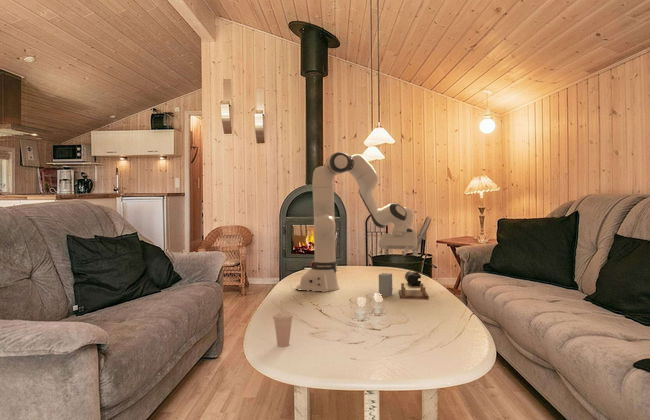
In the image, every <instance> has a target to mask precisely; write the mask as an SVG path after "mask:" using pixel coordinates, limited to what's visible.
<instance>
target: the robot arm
mask: <svg viewBox="0 0 650 420" xmlns="http://www.w3.org/2000/svg"><path fill="white" fill-rule="evenodd" d="M346 172H347V173H349V174H351V176H352V177H353V178H354V180H355V181H356V182H357V183H356V184H357V185H358V193H359V196H360V198H361V200H362V203H364V206H365V208H366V210H367V211H368V213H369V215H370V218H371V220H372V223H373V224H374V225H375V226H376V227H377V228H380V229H383V228H384V229H385V228H386V227H388V226H389V225H390V224H393V229H392V231H391V233H390V232H389V233H384V234H381V235H380V238H379V241H378V248H380V250H381V249H382V250H384V252H383V253H384V255H385V256H388V255H389V251H388V250H402V252H401V255H402V256H406V255H407V253H408V252H409V251H411V250H416V249H418V234H417V232H416V230H415V229H414V228H411V227H412V225H413V217H414V213H413V211H412V210H411V208H409V207H403V205H401V204H399V203H397V202H391V203H388V204H387V205H385V206H383V207H382V208H379V206H378V205H377V202H376V201H375V198H374V197H373V190H374V189H375V187H376V185H377V183H378V177H379V176H378V173H377V172H376V171H375V169H374V167H373V165H371V164H370V162H369V161H368V160H367V159H366V158H365V157H364V156H363V155H362V154H359V153H358V154H353V155H349V154H347V153H345V152H342V151H339V152H338V151H337V152H335V153H332V154H330V156H328V158H327V159H326V161H325V163H324V165H323V166H322V165H320V166H317V167H316V168H315V169H314V170H313V173H312V187H311V188H312V205H313V206H312V207H313V240H314V242H313V245H314V249H313V250H314V252H313V253H314V260H313V261H311V262H310V269H309V270H308V271H306V272H305V273H304V274H303V275H302V276H301V277H300V280H299V281H300V282H299V284H298V285H297V286H296V287H295V289H296V288H297V289H301V290H312V291H311V292H315V291H322V292H321V293H326V292H331V291H336V290H339V288H340V286H339V281H338V276H337V271H338V268H337V267H338V265H337V261H336V260H337V259H336V256H337V255H336V219H335V190H334V189H335V188H334V186H335V185H334V179H335V176H336V175H337V176H338V175H340V174H341V175H342V174H344V173H346ZM325 291H326V292H325Z"/></svg>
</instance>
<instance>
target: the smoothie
mask: <svg viewBox="0 0 650 420" xmlns="http://www.w3.org/2000/svg"><path fill="white" fill-rule="evenodd" d="M293 318H294V316H293V313H291V312H285V311H284V312H283V300H280V312H277V313H274V314H273V315H272V319H273V321H274V329H275V336H276V343H277V344H276V345H277V346H278V347H280V348H283V347H284V348H285V347H288V346H290V340H291V333H292V332H291V330H292V321H293V320H292V319H293Z"/></svg>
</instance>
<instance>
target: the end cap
mask: <svg viewBox="0 0 650 420" xmlns="http://www.w3.org/2000/svg"><path fill="white" fill-rule="evenodd" d="M404 279H405V281H406V282H407V284H409V285H410V286H411V287H419V286H420V284H421V283H422V281H421V280H419V279H422V275H421V273H419V272H418V271H417V272H416V271H413V272H412V271H411V270H409V271H407V272H406V273H405V275H404ZM419 288H420V287H419Z"/></svg>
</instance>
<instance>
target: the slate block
mask: <svg viewBox="0 0 650 420" xmlns="http://www.w3.org/2000/svg"><path fill="white" fill-rule="evenodd" d="M379 293H380V294H382V295H386V296H385V297H390V296H392V295H393V273H387V272H385V273H384V272H382V273H380V274H378V294H379Z"/></svg>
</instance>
